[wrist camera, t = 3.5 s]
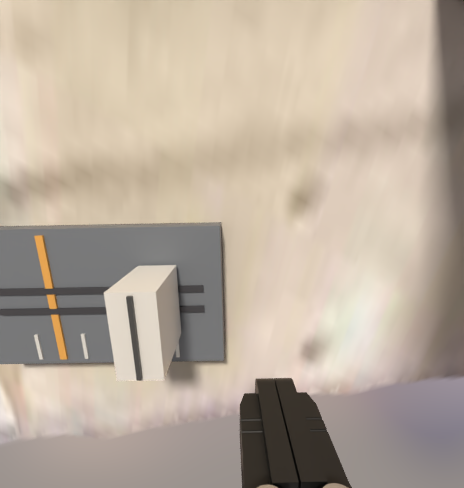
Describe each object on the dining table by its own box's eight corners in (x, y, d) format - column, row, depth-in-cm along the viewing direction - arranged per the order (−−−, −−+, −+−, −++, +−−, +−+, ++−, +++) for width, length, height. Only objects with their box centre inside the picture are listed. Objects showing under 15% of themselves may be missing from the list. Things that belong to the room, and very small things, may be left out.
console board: (221, 222, 20) (219, 226, 18) (224, 345, 22) (223, 362, 20) (-13, 226, 20) (-42, 230, 18) (18, 349, 22) (-4, 365, 20)
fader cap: (176, 264, 18) (154, 293, 13) (181, 333, 19) (163, 382, 14) (138, 265, 18) (101, 294, 13) (145, 333, 19) (115, 383, 14)
